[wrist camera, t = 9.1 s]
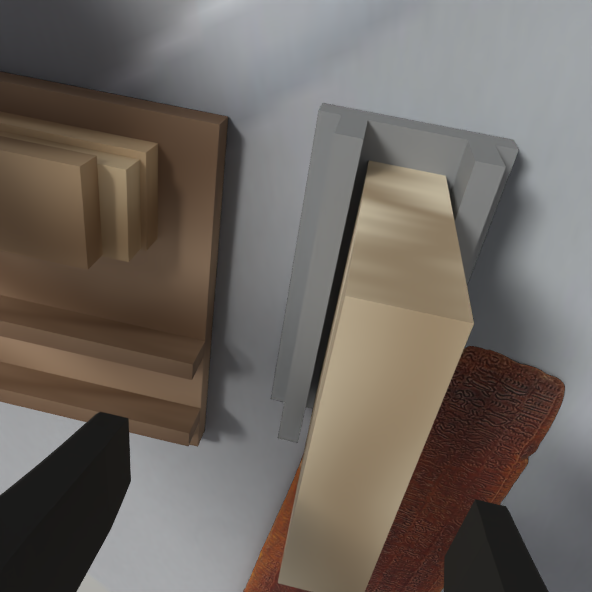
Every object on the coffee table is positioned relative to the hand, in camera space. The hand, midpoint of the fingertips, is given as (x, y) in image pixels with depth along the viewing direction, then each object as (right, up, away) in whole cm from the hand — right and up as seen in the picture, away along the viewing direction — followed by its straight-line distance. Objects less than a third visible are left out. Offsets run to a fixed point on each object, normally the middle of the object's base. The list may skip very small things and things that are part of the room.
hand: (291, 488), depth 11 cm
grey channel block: (+3, +4, +9) cm, 10 cm away
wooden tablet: (+4, -8, +18) cm, 20 cm away
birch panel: (+3, +4, +8) cm, 9 cm away
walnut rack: (-9, +5, +11) cm, 15 cm away
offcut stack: (-9, +8, +8) cm, 14 cm away
